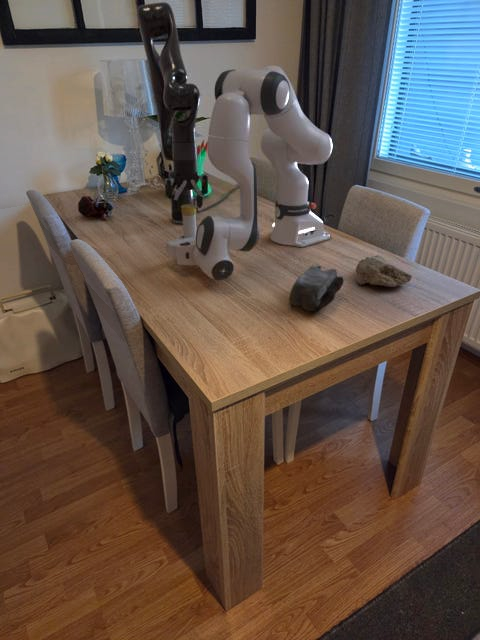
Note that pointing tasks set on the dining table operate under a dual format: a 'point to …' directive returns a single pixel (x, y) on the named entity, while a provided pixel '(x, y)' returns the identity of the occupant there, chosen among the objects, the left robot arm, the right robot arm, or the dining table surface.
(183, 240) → the right robot arm
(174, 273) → the dining table surface
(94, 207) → the toy
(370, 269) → the artifact
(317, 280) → the rock
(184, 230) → the white tall cylinder
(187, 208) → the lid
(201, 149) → the toy
